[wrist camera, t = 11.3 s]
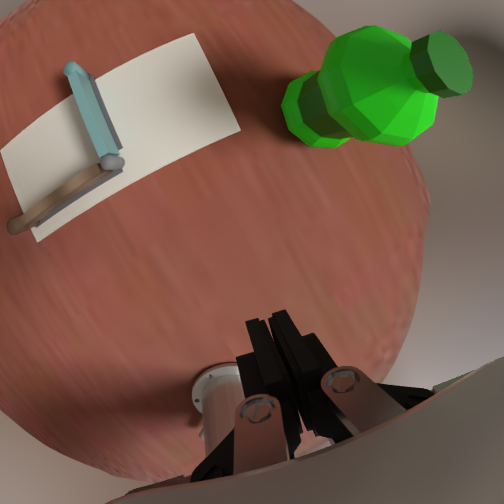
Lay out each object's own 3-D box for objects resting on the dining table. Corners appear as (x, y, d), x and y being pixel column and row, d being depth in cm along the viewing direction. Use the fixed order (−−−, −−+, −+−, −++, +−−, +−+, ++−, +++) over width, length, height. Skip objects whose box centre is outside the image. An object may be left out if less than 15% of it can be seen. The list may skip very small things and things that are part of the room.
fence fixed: (33, 228, 33) (11, 238, 27) (27, 215, 32) (4, 223, 26) (114, 174, 33) (99, 176, 27) (108, 160, 33) (92, 159, 27)
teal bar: (127, 165, 33) (117, 164, 28) (115, 172, 33) (103, 172, 28) (87, 70, 28) (74, 58, 24) (76, 77, 28) (61, 67, 24)
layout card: (38, 242, 34) (37, 242, 33) (-1, 145, 29) (-3, 144, 28) (240, 130, 35) (241, 130, 34) (190, 28, 30) (190, 27, 29)
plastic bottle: (353, 96, 36) (498, 51, 12) (332, 164, 38) (486, 173, 14) (288, 66, 33) (396, -36, 10) (262, 136, 35) (368, 86, 12)
